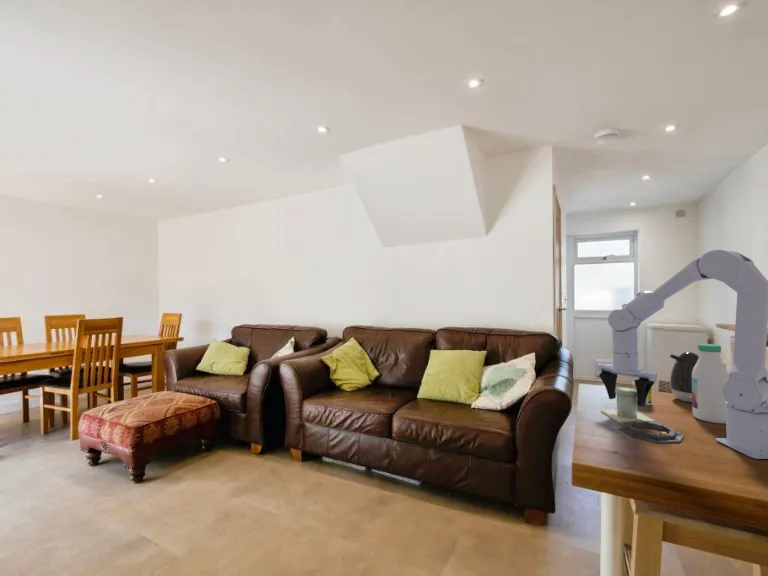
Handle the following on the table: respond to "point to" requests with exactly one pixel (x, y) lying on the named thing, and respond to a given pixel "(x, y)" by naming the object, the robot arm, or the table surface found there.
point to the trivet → (622, 420)
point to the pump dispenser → (683, 375)
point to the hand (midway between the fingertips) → (626, 401)
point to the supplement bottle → (649, 398)
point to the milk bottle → (709, 385)
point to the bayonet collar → (658, 438)
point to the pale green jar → (626, 402)
